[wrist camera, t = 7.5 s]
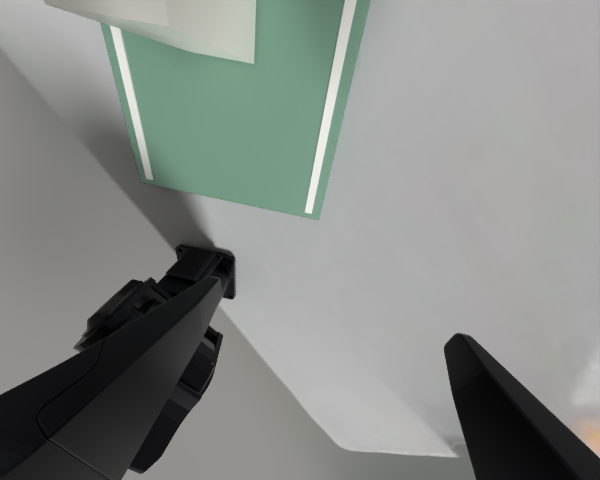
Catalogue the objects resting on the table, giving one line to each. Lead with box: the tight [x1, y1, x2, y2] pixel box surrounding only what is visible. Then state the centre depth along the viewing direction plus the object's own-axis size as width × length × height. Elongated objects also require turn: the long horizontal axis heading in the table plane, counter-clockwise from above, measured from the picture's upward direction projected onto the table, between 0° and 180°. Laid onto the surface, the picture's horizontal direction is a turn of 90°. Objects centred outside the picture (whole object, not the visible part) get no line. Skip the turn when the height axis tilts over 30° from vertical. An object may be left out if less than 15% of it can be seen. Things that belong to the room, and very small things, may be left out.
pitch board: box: [100, 0, 370, 220], centre depth 13 cm, size 24×16×1 cm, turn 171°
